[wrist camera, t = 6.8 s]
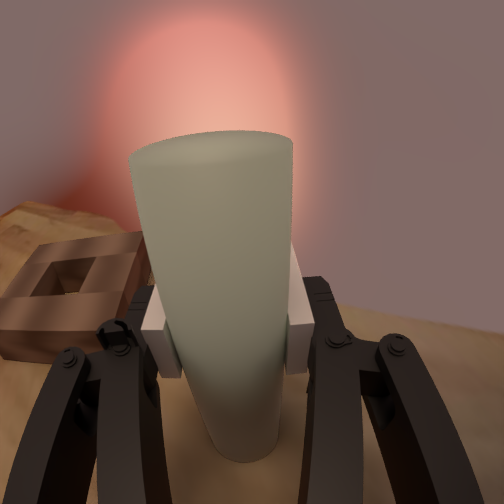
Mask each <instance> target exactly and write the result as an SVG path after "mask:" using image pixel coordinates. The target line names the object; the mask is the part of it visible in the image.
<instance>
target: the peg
mask: <svg viewBox="0 0 504 504" xmlns="http://www.w3.org/2000/svg"><path fill="white" fill-rule="evenodd" d="M292 151H293V143H292V141H291V139H289V138H287V137H285V136H282V135H279V134H274V133H268V132H260V131H215V132H205V133H197V134H190V135H185V136H179V137H175V138H171V139H166V140H163V141H159V142H156V143H153V144H150V145H147V146H145V147H143V148H141V149H138V150H137V151H135V152H134V153H132V154H131V155H130V156H129V158H128V161H129V167H130V172H131V177H132V184H133V189H134V194H135V199H136V204H137V209H138V213H139V218H140V223H141V227H142V231H143V236H144V240H145V244H146V248H147V252H148V256H149V260H150V264H151V268H152V271H153V275H154V279H155V282H156V286H157V289H158V293H159V296H160V300H161V303H162V307H163V310H164V313H165V316H166V320H167V323H168V326H169V329H170V332H171V335H172V338H173V341H174V344H175V347H176V350H177V353H178V356H179V359H180V361H181V364H182V367H183V370H184V373H185V375H186V378H187V381H188V383H189V386H190V389H191V391H192V394H193V396H194V399H195V401H196V404H197V406H198V409H199V411H200V414H201V416H202V419H203V421H204V423H205V426H206V428H207V430H208V433H209V435H210V437H211V439H212V442H213V444H214V446H215V448H216V449H217V451H218V452H219V453H220V454H221V455H223V456H224V457H226V458H227V459H230V460H232V461H235V462H243V463H246V462H254V461H257V460H260V459H262V458H264V457H265V456H267V455H268V454H269V453H270V452H271V451H272V450H273V448H274V447H275V445H276V443H277V440H278V432H279V422H280V411H281V400H282V388H283V376H284V363H285V362H284V360H285V346H286V330H287V313H288V299H289V278H290V254H291V222H292V165H293V159H292V158H293V152H292Z"/></svg>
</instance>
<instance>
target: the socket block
mask: <svg viewBox="0 0 504 504" xmlns="http://www.w3.org/2000/svg"><path fill="white" fill-rule="evenodd" d="M150 270H151V264H150V260H149V256H148V252H147V248H146V244H145V240H144V236H143V231H138V232H130V233H122V234H114V235H107V236H99V237H92V238H84V239H77V240H70V241H64V242H57V243H50V244H44V245H39V246H38V247H37V249H36V250H35V251H34V252H33V254H32V255H31V256H30V257H29V259H28V260H27V261H26V263H25V264H24V265H23V267H22V268H21V269H20V271H19V272H18V274H17V275H16V276H15V278H14V279H13V281H12V282H11V283H10V285H9V286H8V288H7V289H6V291H5V292H4V294H3V295H2V297H1V298H0V355H1V356H2V357H3V359H6V360H15V361H24V362H34V363H46V364H53V362H54V360H55V358H56V357H57V355H58V354H59V353H60V352H61V351H62V350H64V349H65V348H68V347H74V346H76V347H79V348H81V349H82V350H83V351H84V353H85V354H89V353H94V352H98V351H102V350H104V349H103V347H102V345H101V344H100V342H99V340H98V338H97V336H96V331H97V329H98V327H99V326H100V325H101V324H102V323H104V322H106V321H107V320H110V319H113V318H123V319H124V318H125V316H126V313H127V311H128V308H129V305H130V304H131V300H132V297H133V295H134V293H135V292H136V291H137V290H138V289H139V288H140V287H141V286H147V282H148V278H149V274H150ZM67 292H79V293H78V294H69V295H64V294H65V293H67Z"/></svg>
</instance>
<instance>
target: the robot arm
mask: <svg viewBox="0 0 504 504" xmlns="http://www.w3.org/2000/svg"><path fill="white" fill-rule="evenodd" d="M96 336H97V338H98V340H99V342H100V344H101V345H102V347H103V349H104V350H102V351H98V352H94V353H89V354H85V353H84V351H83V350H82V349H81V348H79V347H76V346H74V347H68V348H65V349H64V350H62V351H61V352H60V353H59V354H58V355H57V357H56V358H55V360H54V362H53V365H52V367H51V369H50V371H49V373H48V375H47V377H46V379H45V382H44V384H43V386H42V388H41V391H40V393H39V395H38V397H37V400H36V402H35V405H34V407H33V409H32V412H31V414H30V417H29V419H28V422H27V425H26V427H25V430H24V433H23V435H22V438H21V441H20V444H19V447H18V450H17V453H16V456H15V459H14V462H13V465H12V469H11V472H10V476H9V479H8V483H7V487H6V491H5V495H4V499H3V503H2V504H86V501H87V496H88V491H89V486H90V482H91V477H92V473H93V469H94V464H95V460H96V456H97V491H98V504H172V498H171V492H170V486H169V479H168V472H167V465H166V457H165V448H164V439H163V429H162V418H161V405H160V390H159V385H158V382H157V380H156V378H157V373H158V371H159V373H160V375H161V377H162V378H181V373H182V364H181V361H180V359H179V356H178V353H177V350H176V347H175V344H174V341H173V338H172V335H171V332H170V329H169V326H168V323H167V320H166V316H165V313H164V310H163V307H162V303H161V300H160V296H159V293H158V289H157V286H156V284H155V285H152V286H141V287H140V288H139V289H138V290H137V291H136V292H135V293H134V295H133V297H132V300H131V304H130V305H129V308H128V311H127V313H126V316H125V318H124V319H123V318H113V319H110V320H107V321H106V322H104V323H102V324H101V325H100V326H99V327H98V329H97V331H96ZM284 362H285V369H286V375H289V374H300V373H307V367H308V369H309V374H310V377H309V382H308V387H307V392H306V393H308V398H307V413H306V427H305V439H304V451H303V461H302V471H301V480H300V489H299V497H298V504H363V425H362V405H361V395H362V397H363V400H364V403H365V406H366V408H367V411H368V414H369V417H370V420H371V423H372V426H373V429H374V432H375V435H376V438H377V441H378V444H379V448H380V451H381V454H382V457H383V460H384V463H385V467H386V470H387V473H388V477H389V480H390V483H391V487H392V490H393V494H394V497H395V501H396V504H484V501H483V498H482V495H481V492H480V489H479V486H478V483H477V480H476V478H475V475H474V472H473V470H472V467H471V464H470V462H469V459H468V457H467V454H466V452H465V449H464V447H463V444H462V442H461V440H460V437H459V435H458V433H457V430H456V428H455V426H454V424H453V421H452V419H451V417H450V415H449V413H448V411H447V408H446V406H445V404H444V402H443V400H442V398H441V396H440V394H439V392H438V390H437V388H436V386H435V384H434V382H433V380H432V378H431V376H430V374H429V372H428V370H427V368H426V366H425V365H424V363H423V361H422V359H421V357H420V355H419V353H418V352H417V350H416V348H415V346H414V344H413V343H412V342H411V341H410V339H409V338H407V337H405V336H404V335H401V334H397V333H395V334H388V335H386V336H384V337H383V338H382V339H381V340H380V342H373V341H365V340H361V339H358V338H356V337H354V335H353V334H352V333H351V332H350V331H349V330H347V329H346V328H345V326H344V323H343V321H342V318H341V315H340V312H339V310H338V307H337V304H336V302H335V300H334V297H333V294H332V291H331V289H330V286H329V284H328V283H327V282H326V281H325V280H324V279H323V278H322V277H321V276H315V277H302V276H301V272H300V269H299V266H298V262H297V259H296V255H295V252H294V249H293V246H292V242H291V254H290V278H289V299H288V313H287V330H286V346H285V360H284Z"/></svg>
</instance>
